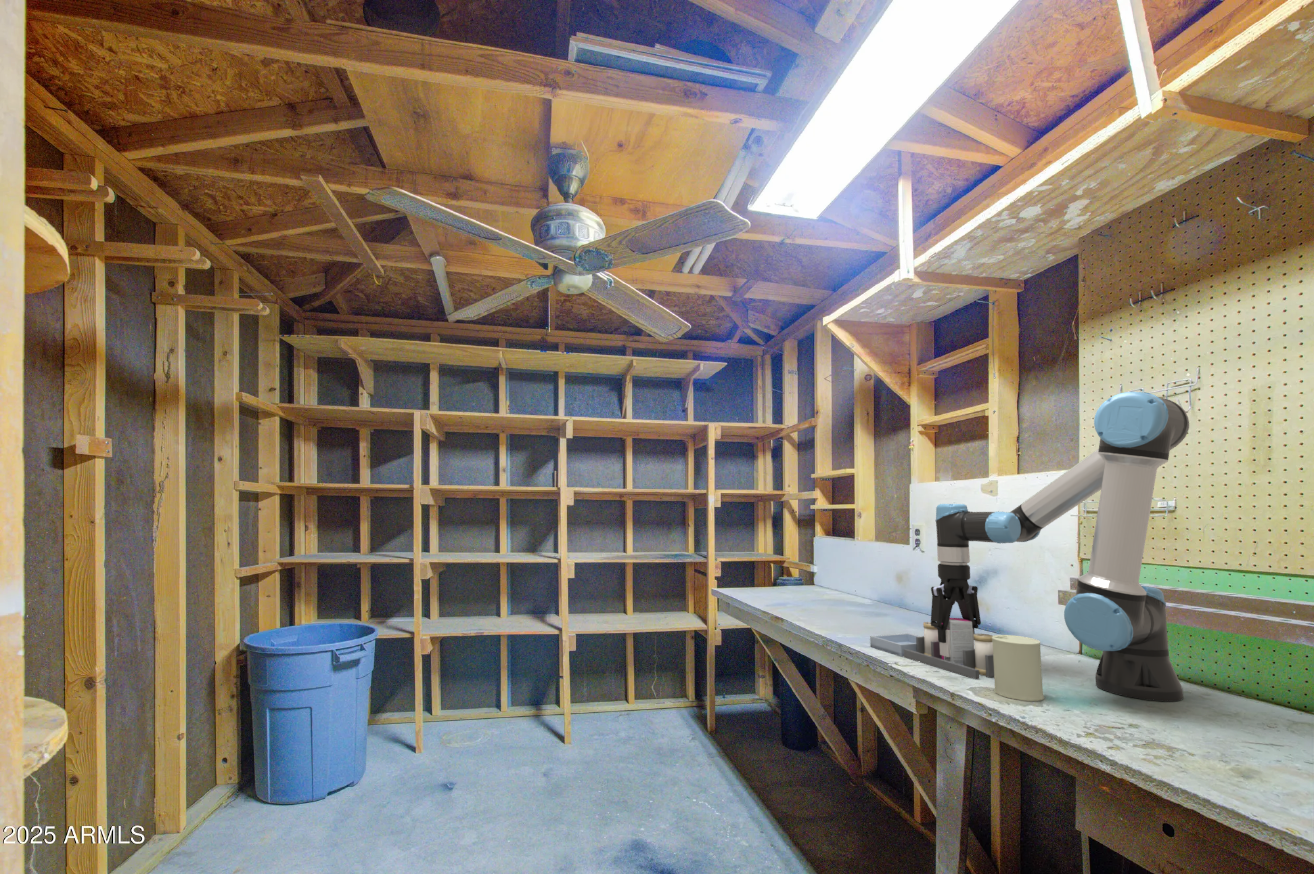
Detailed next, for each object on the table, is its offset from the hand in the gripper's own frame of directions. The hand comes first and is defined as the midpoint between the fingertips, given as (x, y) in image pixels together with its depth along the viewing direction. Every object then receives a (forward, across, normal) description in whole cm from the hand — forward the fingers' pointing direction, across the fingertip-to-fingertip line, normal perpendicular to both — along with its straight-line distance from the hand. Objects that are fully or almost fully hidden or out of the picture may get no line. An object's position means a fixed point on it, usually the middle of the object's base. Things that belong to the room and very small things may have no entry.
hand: (957, 654), depth 154 cm
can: (+3, +8, +23) cm, 25 cm away
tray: (+3, 0, -18) cm, 18 cm away
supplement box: (+3, 0, 0) cm, 3 cm away
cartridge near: (+3, 0, +8) cm, 8 cm away
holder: (+3, 0, 0) cm, 3 cm away
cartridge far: (+3, 0, -8) cm, 8 cm away
